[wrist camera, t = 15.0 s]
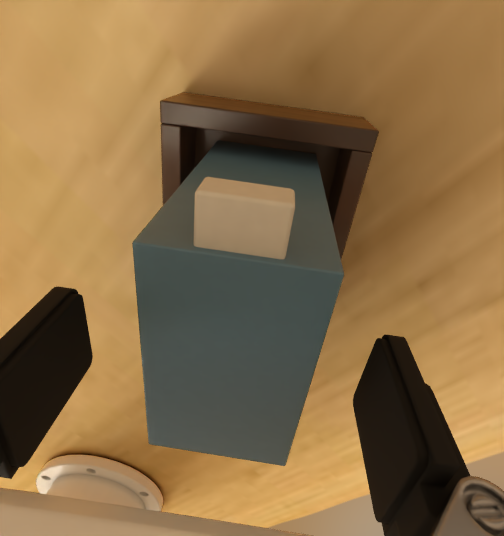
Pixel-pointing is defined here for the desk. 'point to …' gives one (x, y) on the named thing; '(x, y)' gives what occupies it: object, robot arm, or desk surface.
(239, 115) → the holder
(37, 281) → the desk surface
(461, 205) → the desk surface
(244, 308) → the blue box with handle
